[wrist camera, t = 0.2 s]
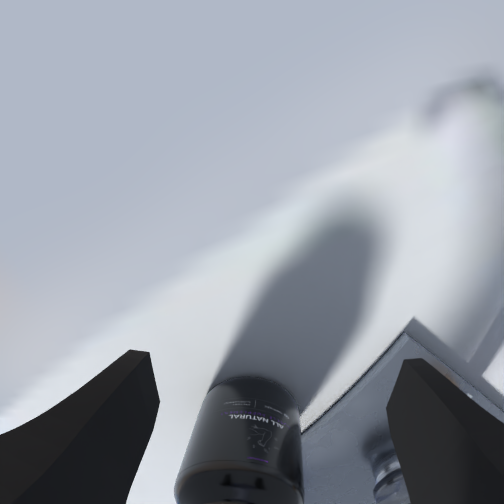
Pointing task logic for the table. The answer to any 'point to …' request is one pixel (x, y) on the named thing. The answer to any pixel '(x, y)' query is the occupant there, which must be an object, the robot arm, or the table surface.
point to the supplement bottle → (244, 447)
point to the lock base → (365, 431)
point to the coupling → (391, 489)
